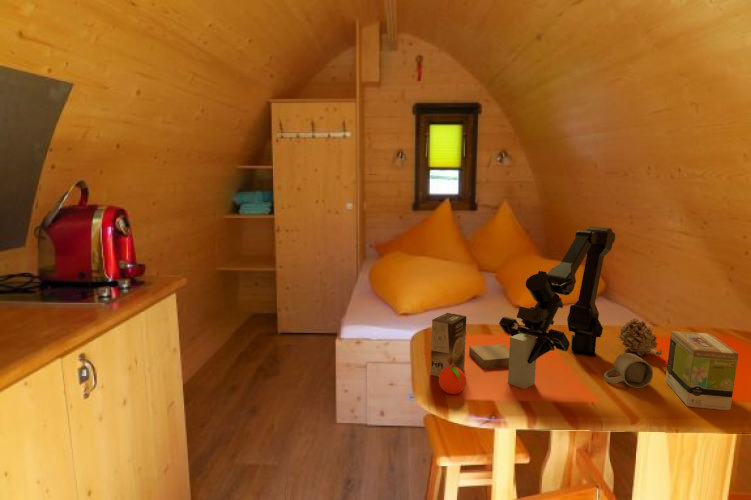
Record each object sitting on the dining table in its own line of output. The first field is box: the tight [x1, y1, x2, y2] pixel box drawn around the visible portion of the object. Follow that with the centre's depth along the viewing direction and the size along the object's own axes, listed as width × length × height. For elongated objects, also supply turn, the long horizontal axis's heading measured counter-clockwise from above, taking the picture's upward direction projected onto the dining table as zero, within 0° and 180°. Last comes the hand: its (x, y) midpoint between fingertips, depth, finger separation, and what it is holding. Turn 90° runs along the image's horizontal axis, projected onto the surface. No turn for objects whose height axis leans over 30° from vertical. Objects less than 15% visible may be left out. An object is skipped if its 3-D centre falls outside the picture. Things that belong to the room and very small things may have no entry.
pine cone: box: [618, 318, 663, 357], centre depth 152 cm, size 22×10×10 cm, turn 2°
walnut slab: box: [468, 343, 510, 369], centre depth 151 cm, size 11×11×3 cm
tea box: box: [665, 330, 739, 411], centre depth 126 cm, size 15×10×15 cm, turn 168°
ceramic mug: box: [603, 352, 654, 389], centre depth 135 cm, size 11×8×8 cm
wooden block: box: [507, 333, 537, 390], centre depth 133 cm, size 5×5×13 cm
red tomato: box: [438, 366, 467, 395], centre depth 128 cm, size 8×7×7 cm
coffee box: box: [430, 312, 467, 378], centre depth 140 cm, size 9×6×16 cm
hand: (519, 359), depth 132 cm, fingers closed on wooden block, 5 cm apart
